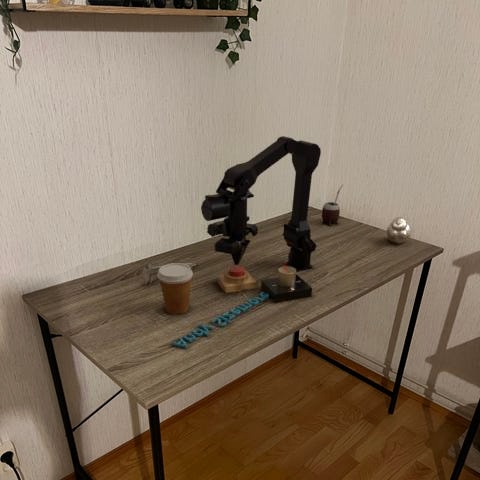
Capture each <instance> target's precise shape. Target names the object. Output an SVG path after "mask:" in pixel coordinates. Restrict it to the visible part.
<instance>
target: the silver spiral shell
mask: <svg viewBox="0 0 480 480" xmlns="http://www.w3.org/2000/svg"><path fill="white" fill-rule="evenodd" d="M412 233H413V228H412V225H411V223H410V222H409V221H407V220H406V219H405V218H404V217H401V216H397V217H394V218H393V219H392V221H391V222H390V223H389V224H388V226H387V228H386V235H387V239H388V240H389V241H390V242H392V243H394V244H403V243H406V242H407V241H408V240H409V239H410V238H411V236H412Z"/></svg>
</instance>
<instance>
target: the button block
mask: <svg viewBox="0 0 480 480" xmlns="http://www.w3.org/2000/svg"><path fill="white" fill-rule="evenodd" d="M216 283H217V285H219V287H220V288H221V289H222V290H223V292H224V293H225V294H229V293H235V292H239V291H240V292H241V291H247V290H251V289H257V281H256V279H255V278H254V277H253V276H252V274H250V273H249V271H247V270H246V269H244V275H243V276H241V277H233V276H230V275H229V269H227V270H225V271H224V274H220V275H216Z"/></svg>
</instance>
